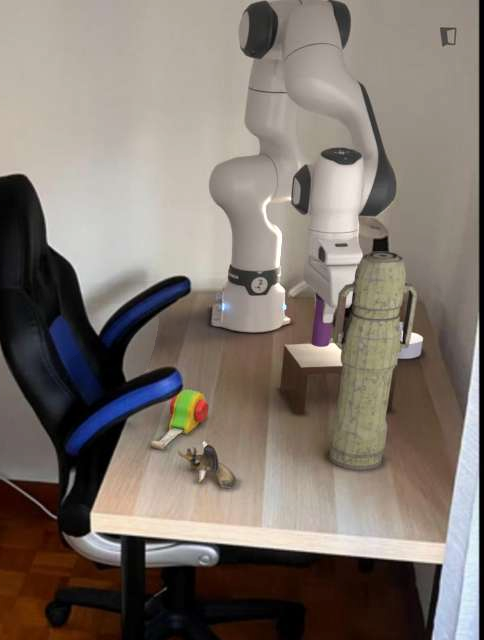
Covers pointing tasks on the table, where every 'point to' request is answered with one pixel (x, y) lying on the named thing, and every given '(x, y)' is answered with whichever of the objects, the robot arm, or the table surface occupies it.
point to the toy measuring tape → (184, 415)
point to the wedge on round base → (411, 346)
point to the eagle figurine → (210, 465)
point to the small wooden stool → (312, 371)
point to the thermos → (369, 357)
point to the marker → (320, 326)
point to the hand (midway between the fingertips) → (323, 318)
